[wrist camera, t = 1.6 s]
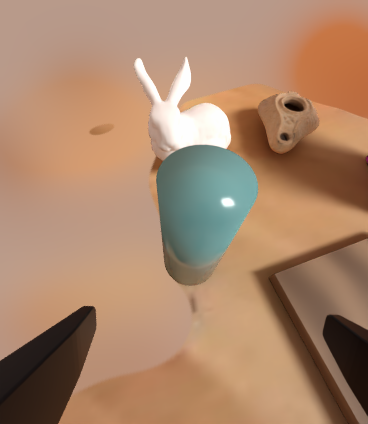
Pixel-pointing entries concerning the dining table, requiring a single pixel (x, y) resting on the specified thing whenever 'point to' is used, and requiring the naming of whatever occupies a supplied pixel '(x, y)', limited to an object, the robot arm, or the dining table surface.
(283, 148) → the pottery oil lamp
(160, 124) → the rabbit
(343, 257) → the walnut board
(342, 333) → the robot arm
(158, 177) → the teal cup
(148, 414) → the dining table surface
